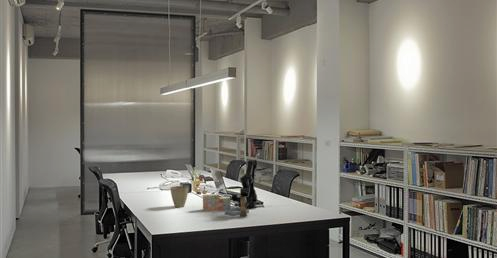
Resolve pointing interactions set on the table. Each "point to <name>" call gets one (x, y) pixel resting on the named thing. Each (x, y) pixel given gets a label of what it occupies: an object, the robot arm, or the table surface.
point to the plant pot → (179, 195)
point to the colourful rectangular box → (216, 202)
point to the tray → (235, 211)
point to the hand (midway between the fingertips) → (242, 207)
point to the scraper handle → (243, 207)
